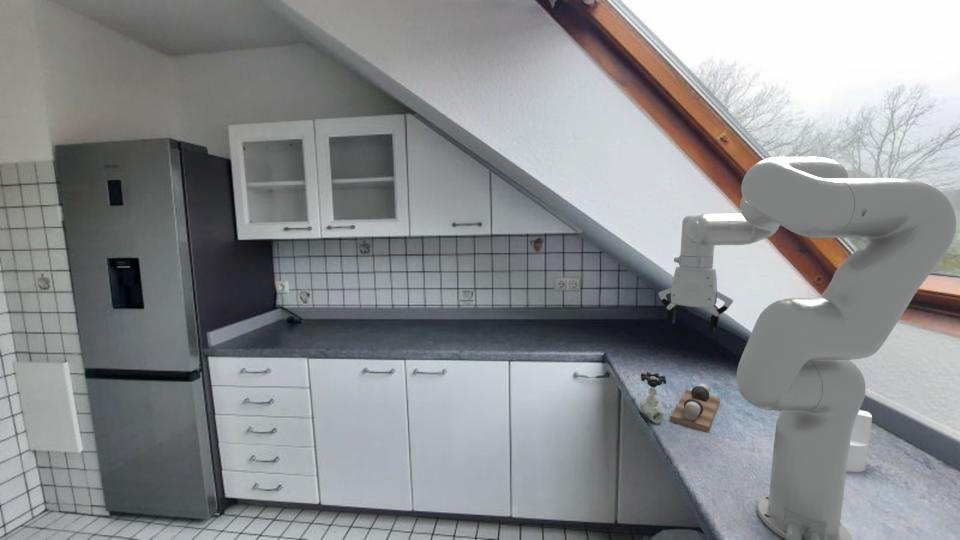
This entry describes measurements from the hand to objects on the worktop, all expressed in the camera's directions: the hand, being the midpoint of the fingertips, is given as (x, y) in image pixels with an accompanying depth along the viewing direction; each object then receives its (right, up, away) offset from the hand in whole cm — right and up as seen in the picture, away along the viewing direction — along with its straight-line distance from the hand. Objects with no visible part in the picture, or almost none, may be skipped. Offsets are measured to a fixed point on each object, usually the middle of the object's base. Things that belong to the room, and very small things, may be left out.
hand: (691, 326), depth 100 cm
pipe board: (+5, -25, +7) cm, 27 cm away
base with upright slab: (+25, -28, -15) cm, 40 cm away
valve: (-9, -26, +3) cm, 28 cm away
